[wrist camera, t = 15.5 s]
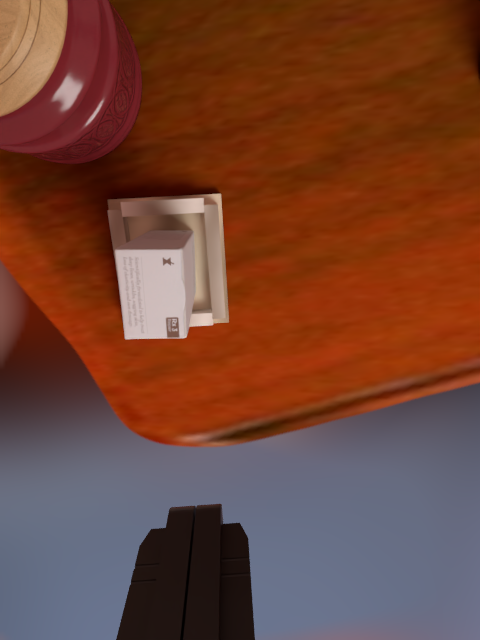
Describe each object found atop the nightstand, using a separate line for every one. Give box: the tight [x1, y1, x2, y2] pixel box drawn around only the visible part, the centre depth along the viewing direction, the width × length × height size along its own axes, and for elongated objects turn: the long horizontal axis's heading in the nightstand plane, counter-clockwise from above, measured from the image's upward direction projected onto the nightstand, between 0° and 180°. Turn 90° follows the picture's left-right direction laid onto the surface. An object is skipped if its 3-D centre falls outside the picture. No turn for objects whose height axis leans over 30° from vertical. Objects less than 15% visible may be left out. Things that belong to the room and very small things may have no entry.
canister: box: [0, 0, 142, 164], centre depth 22 cm, size 13×13×18 cm
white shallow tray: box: [107, 194, 229, 327], centre depth 34 cm, size 10×12×2 cm
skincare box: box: [115, 230, 196, 339], centre depth 29 cm, size 6×4×12 cm
